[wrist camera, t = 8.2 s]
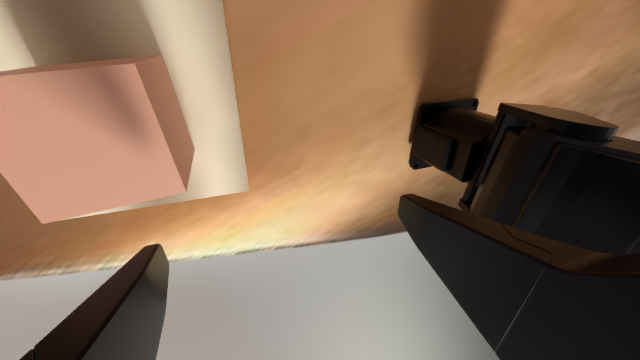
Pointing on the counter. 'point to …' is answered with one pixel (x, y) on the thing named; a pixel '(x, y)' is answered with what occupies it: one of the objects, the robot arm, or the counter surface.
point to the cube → (92, 135)
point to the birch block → (138, 41)
